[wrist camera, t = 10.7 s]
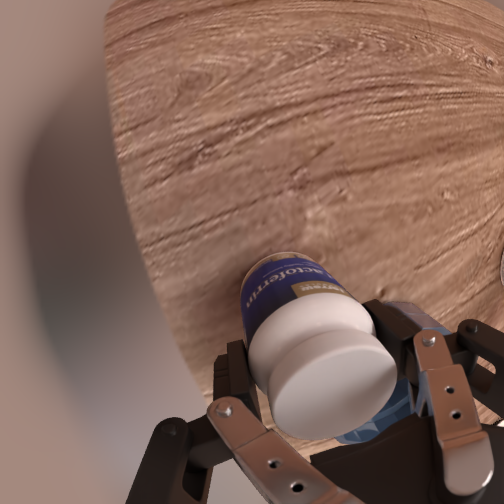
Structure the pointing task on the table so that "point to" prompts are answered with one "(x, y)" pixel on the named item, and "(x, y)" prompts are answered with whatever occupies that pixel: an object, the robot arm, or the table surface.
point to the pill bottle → (312, 348)
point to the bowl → (399, 399)
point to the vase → (502, 269)
